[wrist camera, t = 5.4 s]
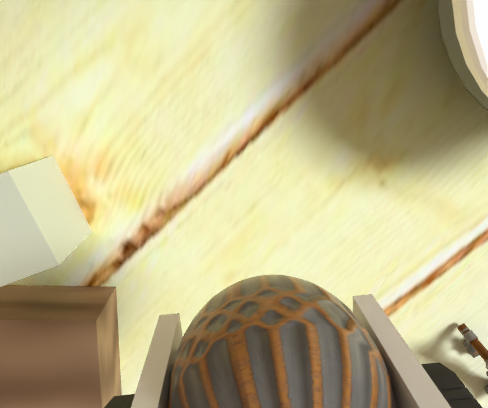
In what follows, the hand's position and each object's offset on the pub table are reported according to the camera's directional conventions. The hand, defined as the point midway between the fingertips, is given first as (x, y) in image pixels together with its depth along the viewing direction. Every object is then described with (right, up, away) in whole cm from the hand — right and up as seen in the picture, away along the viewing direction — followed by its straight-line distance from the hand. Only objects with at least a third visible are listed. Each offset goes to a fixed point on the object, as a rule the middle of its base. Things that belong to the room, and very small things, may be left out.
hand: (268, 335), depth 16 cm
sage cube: (-16, +5, +13) cm, 21 cm away
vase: (0, 0, +1) cm, 1 cm away
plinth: (-16, -6, +16) cm, 23 cm away
